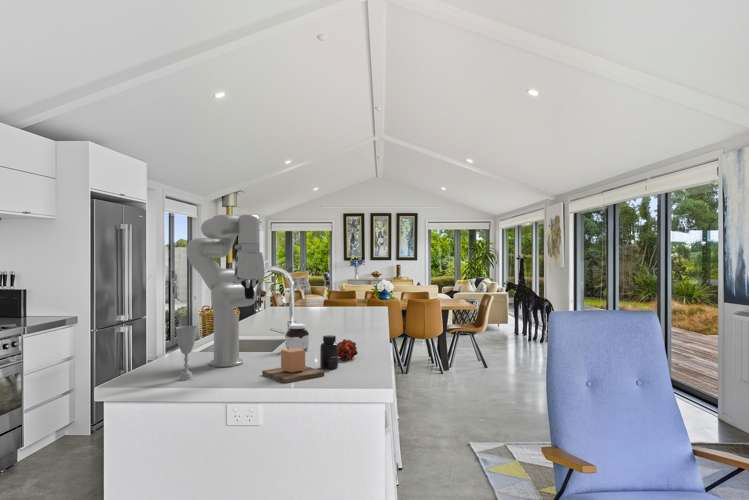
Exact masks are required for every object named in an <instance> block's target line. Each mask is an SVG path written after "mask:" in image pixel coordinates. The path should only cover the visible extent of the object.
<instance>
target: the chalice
mask: <svg viewBox="0 0 749 500" xmlns="http://www.w3.org/2000/svg"><path fill="white" fill-rule="evenodd" d="M197 328H198V327H197V325H180V326H176V327H175V328H174V329H175V331H176V343H177V345H178V349H179V350H180V352H181V353H182V354H183V355H184V359H183V361H184V364H183V366H184V370H183V371H181V373H180V375H179V378H178V381H191V380H194V378H195V377H194V376H193V373H192V371H189V369H188V368H189V365H190V364H189V360H190V359H189V356H188V355H189V354H190V353H191V352H192V350H193V348H194V346H195V342H196V330H197Z"/></svg>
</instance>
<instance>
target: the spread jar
mask: <svg viewBox="0 0 749 500" xmlns="http://www.w3.org/2000/svg"><path fill="white" fill-rule="evenodd" d="M309 346H310V333H309V330H307V329H306V324H305V323H291V324H289V329H288V330H287V331H286V334H285V347H286V348H285V349H290V348H299V349H303V350H305V351H307V350H308V349H309Z"/></svg>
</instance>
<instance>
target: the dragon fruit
mask: <svg viewBox="0 0 749 500" xmlns="http://www.w3.org/2000/svg"><path fill="white" fill-rule="evenodd" d="M337 344H338V358H340V359H341V360H342V361H347V360H348V359H350V358H351V359H350V360H352V359H354V357H355V356H357V355H358V354H359V353H358V351H357V349H358V348H357V343H356V342H355V341H352V340H351V339H346V338H345V339H342V341H339V342H338V343H337Z"/></svg>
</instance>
